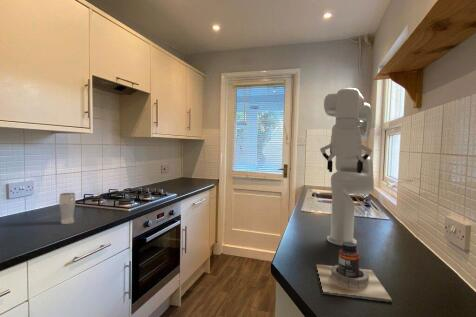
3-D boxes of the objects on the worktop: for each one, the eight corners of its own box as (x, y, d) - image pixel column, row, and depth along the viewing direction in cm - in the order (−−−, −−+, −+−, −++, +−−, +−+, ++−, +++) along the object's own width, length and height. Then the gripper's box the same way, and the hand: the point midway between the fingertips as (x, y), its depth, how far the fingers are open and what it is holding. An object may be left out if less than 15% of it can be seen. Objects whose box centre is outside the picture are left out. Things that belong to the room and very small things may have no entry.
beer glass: (73, 223, 137) (73, 194, 136) (57, 225, 134) (57, 195, 134) (76, 220, 143) (76, 192, 143) (61, 221, 141) (61, 192, 140)
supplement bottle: (352, 274, 87) (354, 240, 86) (362, 284, 81) (364, 247, 80) (334, 274, 87) (336, 240, 86) (343, 284, 81) (344, 247, 80)
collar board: (316, 267, 94) (316, 257, 94) (371, 272, 91) (371, 262, 91) (322, 294, 76) (323, 282, 76) (391, 302, 73) (392, 290, 73)
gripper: (369, 125, 97) (367, 172, 98) (320, 125, 100) (318, 170, 101) (376, 123, 90) (373, 174, 91) (322, 123, 93) (320, 172, 94)
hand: (344, 172), depth 96 cm, fingers open, 9 cm apart
